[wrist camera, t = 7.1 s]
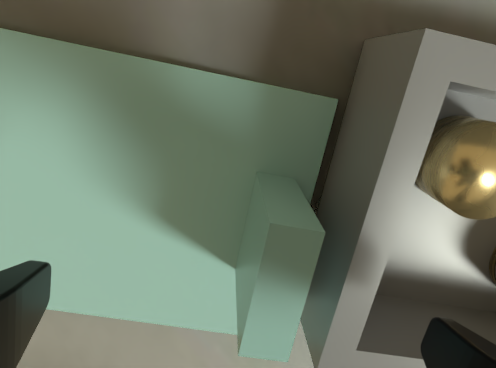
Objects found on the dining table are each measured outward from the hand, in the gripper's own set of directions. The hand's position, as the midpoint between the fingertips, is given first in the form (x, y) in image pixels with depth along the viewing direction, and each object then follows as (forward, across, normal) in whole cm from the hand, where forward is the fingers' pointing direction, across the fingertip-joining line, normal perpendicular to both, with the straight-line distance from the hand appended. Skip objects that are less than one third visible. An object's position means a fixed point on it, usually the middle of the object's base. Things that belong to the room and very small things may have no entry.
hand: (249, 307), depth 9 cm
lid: (+6, +4, 0) cm, 7 cm away
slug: (+5, -7, -4) cm, 9 cm away
